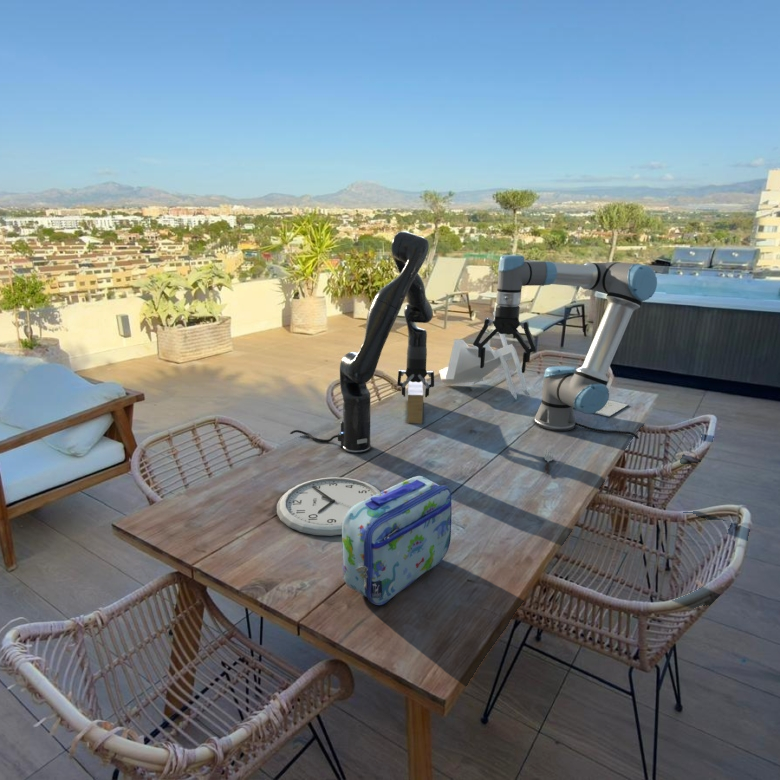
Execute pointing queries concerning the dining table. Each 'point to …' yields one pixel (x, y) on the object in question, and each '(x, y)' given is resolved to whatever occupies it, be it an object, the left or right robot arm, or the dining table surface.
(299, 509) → the wall clock
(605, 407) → the invitation card
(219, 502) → the dining table surface
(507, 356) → the white plastic object
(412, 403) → the box
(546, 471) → the fork
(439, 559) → the lunch box
